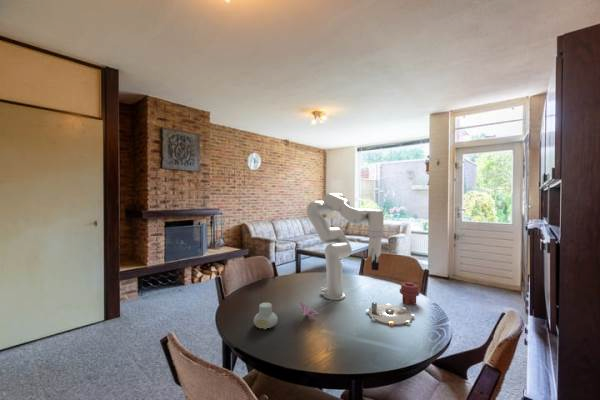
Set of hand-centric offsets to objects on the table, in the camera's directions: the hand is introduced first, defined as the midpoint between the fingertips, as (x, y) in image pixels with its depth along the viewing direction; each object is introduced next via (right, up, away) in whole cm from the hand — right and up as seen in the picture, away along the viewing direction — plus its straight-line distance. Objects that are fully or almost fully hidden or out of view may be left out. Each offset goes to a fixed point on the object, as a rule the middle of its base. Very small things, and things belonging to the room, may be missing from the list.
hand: (375, 269), depth 141 cm
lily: (-35, -23, -8) cm, 43 cm away
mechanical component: (+21, -22, +9) cm, 32 cm away
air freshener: (-54, -23, -14) cm, 61 cm away
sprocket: (+6, -21, -6) cm, 23 cm away
